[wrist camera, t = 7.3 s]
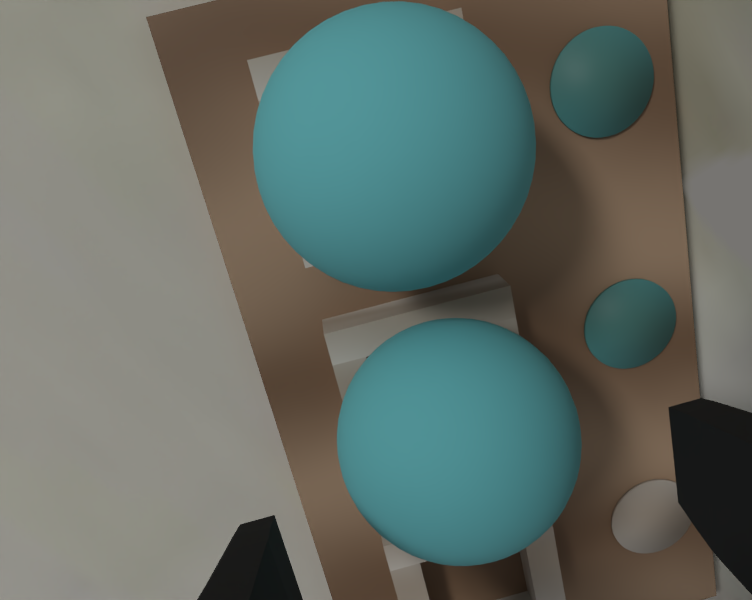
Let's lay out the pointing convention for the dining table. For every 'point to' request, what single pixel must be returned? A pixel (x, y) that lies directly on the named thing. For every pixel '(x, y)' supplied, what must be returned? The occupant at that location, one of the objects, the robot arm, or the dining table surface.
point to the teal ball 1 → (394, 146)
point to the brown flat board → (484, 289)
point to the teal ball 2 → (459, 441)
